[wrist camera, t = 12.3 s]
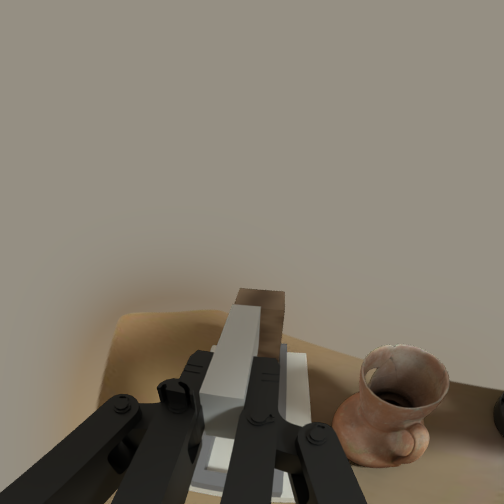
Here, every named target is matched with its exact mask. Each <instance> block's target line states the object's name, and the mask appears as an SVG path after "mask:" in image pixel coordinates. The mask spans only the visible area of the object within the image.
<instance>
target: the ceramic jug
mask: <svg viewBox="0 0 504 504" xmlns="http://www.w3.org/2000/svg"><path fill="white" fill-rule="evenodd" d="M373 368H377V369H376V371H375V372H374V374H373V375H372V377H371V380H370V382H369V383H368V385H367V383H366V381H365V375H366V374H367V372H368V371H369V370H370V369H373ZM449 382H450V381H449V375H448V372H447V370H446V368H445V366H444V365H443V364H442V363H441V362H440V360H439V359H438V358H436V357H435V356H433V355H432V354H430V353H429V352H427V351H425V350H422V349H420V348H418V347H415V346H411V345H404V344H397V345H395V346H394V347H392V346H391V345H384V346H381V347H378V348H376V349H374V350H373V351H371V352H370V353H369V354H368V355H367V356H366V358H365V359H364V361H363V364H362V366H361V371H360V381H359V389H360V392H358V393H356V394H354V395H352V396H350V397H349V398H347V399H346V400H345V401H344V402H343V403H342V404H341V405H340V406H339V408H338V409H337V411H336V412H335V415H334V417H333V421H332V428H333V429H334V431H335V432H336V434H337V436H338V438H339V441H340V443H341V445H342V447H343V450H344V452H345V454H346V457H347V458H348V459H349V460H351V461H352V462H354V463H356V464H359V465H361V466H365V467H370V468H386V467H397V466H399V465H401V464H407V463H412V462H414V461H416V460H417V459H418V458H419V457H420V456H421V455H422V454H423V453H424V451H425V450H426V448H427V446H428V444H429V433H428V431H427V429H426V428H425V427H424V419H423V418H425V417H426V416H427V415H428V414H430V413H431V412H432V411H433V410H434V409H435V408H436V407H437V406H438V405H439V404H440V403H441V401H442V400H443V399H444V397H445V396H446V394H447V392H448V389H449V385H450V383H449Z"/></svg>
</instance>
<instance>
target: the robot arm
mask: <svg viewBox="0 0 504 504" xmlns="http://www.w3.org/2000/svg"><path fill="white" fill-rule="evenodd" d="M260 312H261V307H259V306H248V305H236V304H233V305H232V307H231V310H230V312H229V315H228V318H227V320H226V323H225V326H224V328H223V331H222V334H221V336H220V339H219V341H218V344H217V347H216V349H215V352H208V351H201V350H197V351H196V352H195V353H194V354H192V355H191V356H190V358H189V360H188V362H187V365H186V366H185V368H184V371H183V372H182V374H181V376H180V378H179V379H175V378H173V379H168V380H165V381H163V382H161V383H160V384H159V385H158V386H157V390H158V394H159V397H160V401H161V402H159V403H138V401H137V399H135V398H134V397H133V396H131V395H128V394H119V395H115V396H113V397H112V398H110V399H109V400H108V401H106V402H105V403H104V404H103V405H102V406H101V407H100V408H99V409H97V410H96V411H95V412H94V413H93V414H92V415H91V416H89V417H88V418H87V419H86V420H85V421H84V422H83V423H82V424H80V425H79V426H78V427H77V428H76V429H75V430H74V431H72V432H71V433H70V434H69V435H68V436H67V437H66V438H64V439H63V440H62V441H61V442H60V443H59V444H57V445H56V446H55V447H54V448H53V449H52V450H51V451H49V452H48V453H47V454H46V455H45V456H43V457H42V458H41V459H40V460H39V461H38V462H37V463H35V464H34V465H33V466H32V467H31V468H29V469H28V470H27V471H26V472H25V473H24V474H22V475H21V476H20V477H19V478H18V479H16V480H15V481H14V482H13V483H12V484H10V485H9V486H8V487H7V488H6V489H4V490H3V491H2V492H1V493H0V504H104V503H105V502H106V501H107V500H108V499H109V498H110V497H111V495H112V494H113V493H114V492H115V491H116V490H117V489H118V490H117V492H116V494H115V496H114V498H113V500H112V503H111V504H184V503H185V500H186V497H187V494H188V491H189V487H190V484H191V481H192V478H193V474H194V471H195V468H196V465H197V461H198V458H199V455H200V451H201V448H202V435H203V432H204V430H205V435H209V436H214V437H220V438H227V439H234V444H233V449H232V453H231V458H230V462H229V467H228V471H227V476H226V480H225V485H224V489H223V494H222V498H221V502H220V504H271V499H272V489H273V479H274V468H275V469H278V470H281V471H284V472H287V473H288V477H289V481H290V485H291V488H292V492H293V496H294V500H295V503H296V504H367V502H366V500H365V497H364V495H363V493H362V490H361V488H360V486H359V484H358V481H357V479H356V477H355V475H354V472H353V470H352V468H351V466H350V463H349V461H348V459H347V457H346V454H345V452H344V450H343V447H342V445H341V443H340V441H339V438H338V436H337V434H336V432H335V431H334V429H333V428H332V427H330V426H329V425H327V424H324V423H320V422H312V423H309V424H306V425H304V426H303V427H302V426H298V425H295V424H292V423H290V422H288V421H286V420H285V419H283V418H282V416H281V415H280V413H279V411H278V399H279V381H280V364H279V363H278V361H277V359H276V358H269V357H257V353H258V345H259V329H260ZM494 420H495V423H496V426H497V428H498V430H499V431H500V433H501V434H502V435H503V437H504V392H503V394H502V395H501V396H500V398H499V399H498V401H497V402H496V404H495V407H494Z"/></svg>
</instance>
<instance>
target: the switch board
mask: <svg viewBox="0 0 504 504" xmlns="http://www.w3.org/2000/svg"><path fill="white" fill-rule="evenodd" d="M216 347H217V345H213V346H212V348H211V351H210V352H215V349H216ZM278 363H279V364H280V381H279V399H278V411H279V413H280V415H281V416H282V418H283V419H285V420H286V421H288V422H290V423H292V424H295V425H298V426H302V427H303V426H304V425H306V424H309V423H311V410H310V396H309V382H308V370H307V359H306V353H291V352H287V344H281V346H280V354H279V362H278ZM233 444H234V439H227V438H220V437H214V436H209V435H205V430H204V432H203V435H202V448H201V451H200V455H199V458H198V461H197V465H196V468H195V471H194V474H193V478H192V481H191V484H190V487H189V490H190V491H194V492H199V493H204V494H209V495H215V496H221V497H222V494H223V489H224V485H225V480H226V476H227V471H228V467H229V462H230V458H231V453H232V449H233ZM271 502H295V500H294V496H293V492H292V488H291V485H290V481H289V477H288V473H287V472H284V471H281V470H278V469H275V468H274V479H273V489H272V499H271Z"/></svg>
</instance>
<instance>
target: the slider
mask: <svg viewBox="0 0 504 504" xmlns="http://www.w3.org/2000/svg"><path fill="white" fill-rule="evenodd" d="M235 304H236V305H248V306H259V307H261V312H260V329H259V345H258V353H257V357H269V358H276V359H277V361H278V362H279V354H280V346H281V338H282V329H283V321H284V312H285V311H284V310H285V292H283V291H269V290H257V289H245V288H240V290H239V292H238V295H237V298H236V301H235Z"/></svg>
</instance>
